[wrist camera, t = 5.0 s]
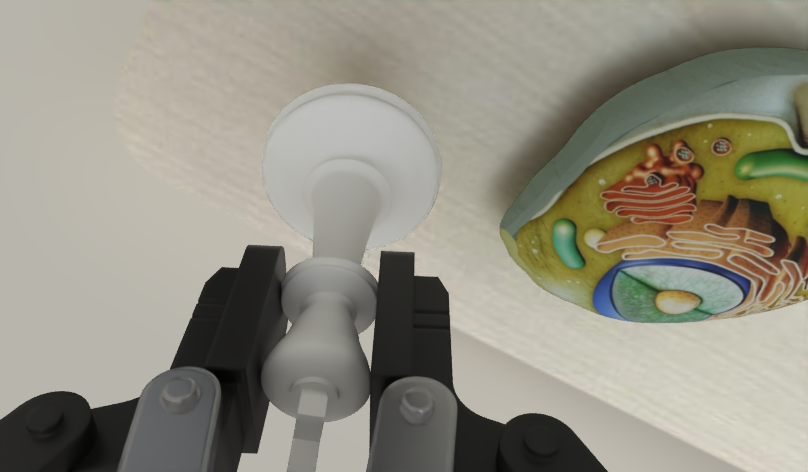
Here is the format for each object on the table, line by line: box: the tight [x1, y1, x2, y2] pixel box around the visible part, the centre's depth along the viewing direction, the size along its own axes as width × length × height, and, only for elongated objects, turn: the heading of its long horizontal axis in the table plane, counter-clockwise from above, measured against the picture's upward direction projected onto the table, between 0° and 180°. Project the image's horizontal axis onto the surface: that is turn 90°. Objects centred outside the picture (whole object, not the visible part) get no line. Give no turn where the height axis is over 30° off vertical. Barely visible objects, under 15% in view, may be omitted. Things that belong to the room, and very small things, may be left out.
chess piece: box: [261, 83, 442, 472], centre depth 15 cm, size 5×5×10 cm
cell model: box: [500, 47, 808, 323], centre depth 25 cm, size 11×8×15 cm
